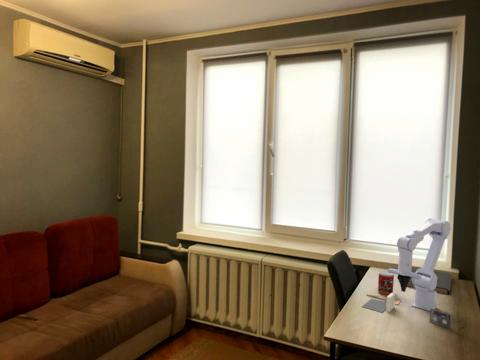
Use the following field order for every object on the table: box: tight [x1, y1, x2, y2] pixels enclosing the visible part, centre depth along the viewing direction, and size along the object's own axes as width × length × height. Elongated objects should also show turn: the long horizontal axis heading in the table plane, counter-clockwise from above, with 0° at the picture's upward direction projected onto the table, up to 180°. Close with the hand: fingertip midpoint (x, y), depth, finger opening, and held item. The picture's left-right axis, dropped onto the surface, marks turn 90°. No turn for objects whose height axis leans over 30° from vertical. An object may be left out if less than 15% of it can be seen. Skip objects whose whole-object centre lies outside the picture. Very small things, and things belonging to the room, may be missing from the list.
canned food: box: [377, 270, 395, 296], centre depth 201 cm, size 8×8×11 cm
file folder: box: [406, 266, 453, 295], centre depth 222 cm, size 33×4×24 cm
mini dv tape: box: [429, 309, 453, 329], centre depth 164 cm, size 8×2×6 cm, turn 41°
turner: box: [366, 293, 401, 306], centre depth 192 cm, size 16×5×1 cm, turn 51°
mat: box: [361, 298, 387, 314], centre depth 183 cm, size 10×14×1 cm
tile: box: [385, 292, 396, 313], centre depth 179 cm, size 2×7×7 cm, turn 141°
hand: (403, 291), depth 175 cm, fingers closed
